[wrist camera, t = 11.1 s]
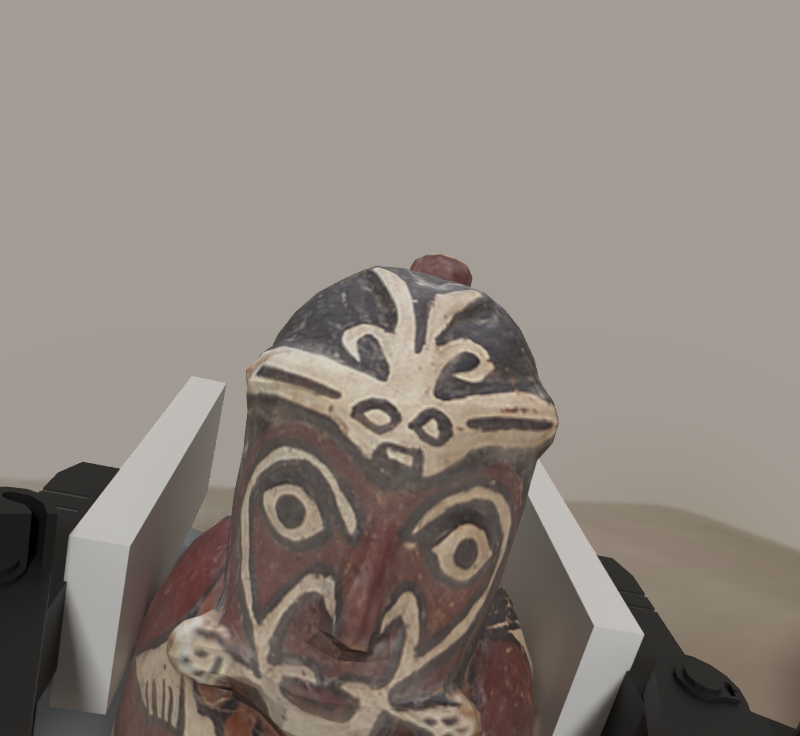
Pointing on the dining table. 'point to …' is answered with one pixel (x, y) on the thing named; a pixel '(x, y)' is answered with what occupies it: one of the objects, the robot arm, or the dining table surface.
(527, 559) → the robot arm
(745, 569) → the dining table surface
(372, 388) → the figurine
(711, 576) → the dining table surface
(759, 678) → the dining table surface
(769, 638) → the dining table surface
